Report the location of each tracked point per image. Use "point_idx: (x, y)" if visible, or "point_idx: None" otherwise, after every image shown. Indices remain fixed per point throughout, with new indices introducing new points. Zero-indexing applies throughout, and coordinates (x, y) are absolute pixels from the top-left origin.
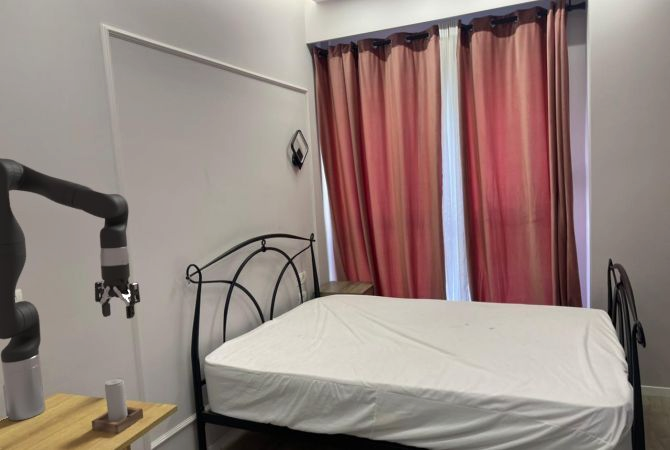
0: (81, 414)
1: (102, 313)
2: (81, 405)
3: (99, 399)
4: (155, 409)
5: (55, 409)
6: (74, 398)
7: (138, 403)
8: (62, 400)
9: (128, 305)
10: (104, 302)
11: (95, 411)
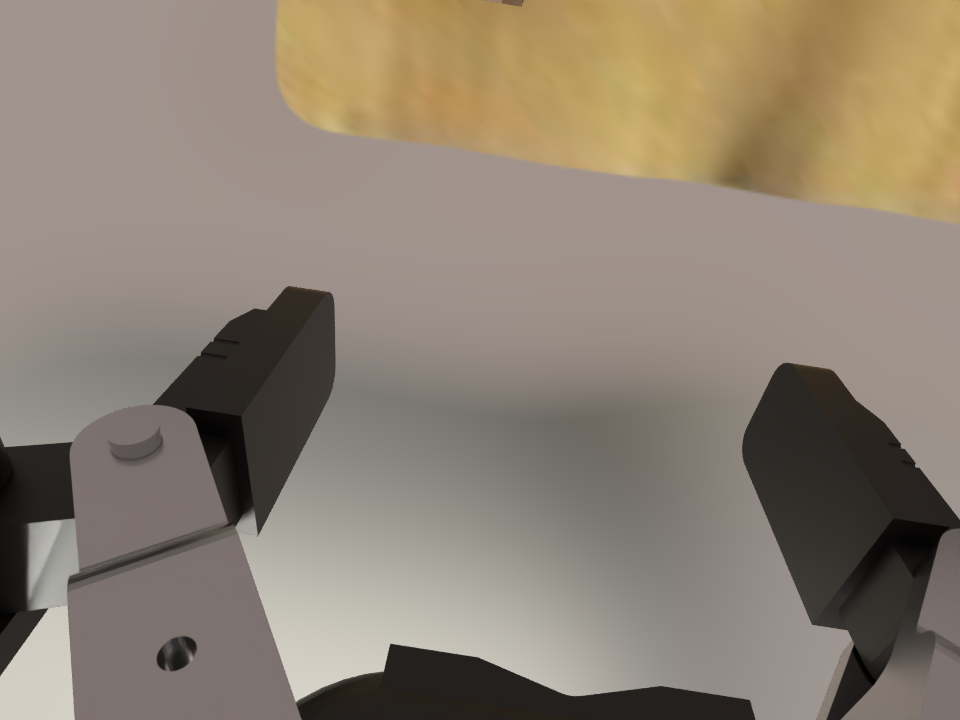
0: None
1: (872, 414)
2: (803, 101)
3: (731, 175)
4: (348, 76)
5: (947, 42)
6: (887, 181)
7: (484, 139)
8: (951, 155)
9: (138, 416)
10: (918, 578)
11: (678, 32)
